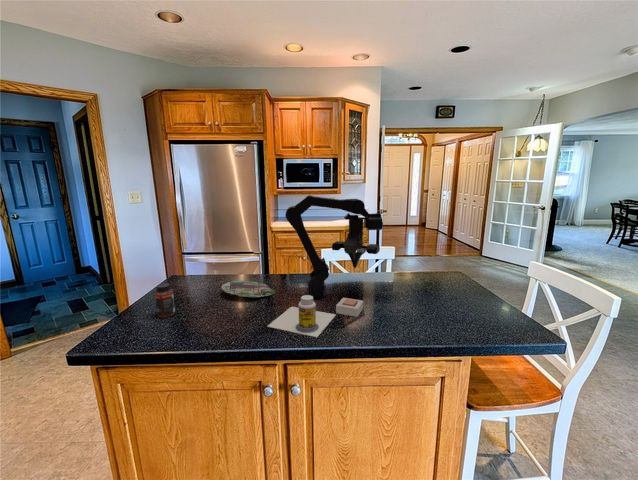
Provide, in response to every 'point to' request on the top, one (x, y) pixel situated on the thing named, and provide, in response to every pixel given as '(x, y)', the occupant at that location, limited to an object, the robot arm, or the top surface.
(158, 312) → the supplement bottle
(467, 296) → the top surface
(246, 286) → the city model
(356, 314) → the button housing
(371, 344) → the top surface
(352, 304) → the button
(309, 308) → the supplement bottle
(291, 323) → the drawing paper
